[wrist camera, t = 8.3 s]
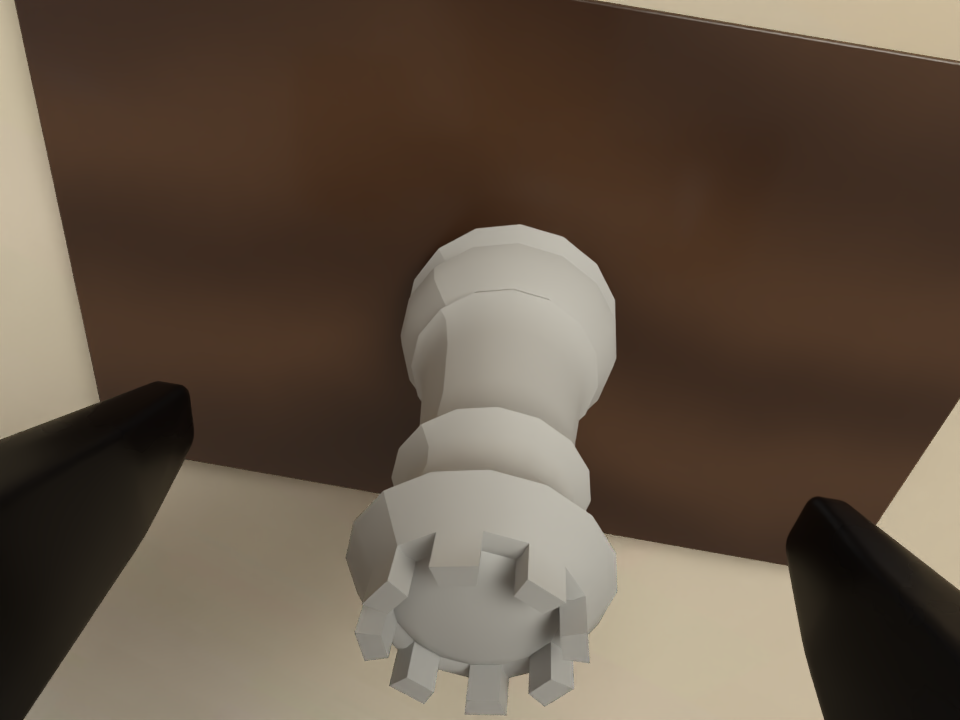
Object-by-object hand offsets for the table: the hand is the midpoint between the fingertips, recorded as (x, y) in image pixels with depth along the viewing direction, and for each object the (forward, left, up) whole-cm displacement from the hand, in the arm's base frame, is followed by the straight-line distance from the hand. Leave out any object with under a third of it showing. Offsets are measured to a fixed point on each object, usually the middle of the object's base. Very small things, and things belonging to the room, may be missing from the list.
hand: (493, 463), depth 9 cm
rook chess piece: (0, 0, -5) cm, 5 cm away
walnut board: (0, 0, -6) cm, 6 cm away
